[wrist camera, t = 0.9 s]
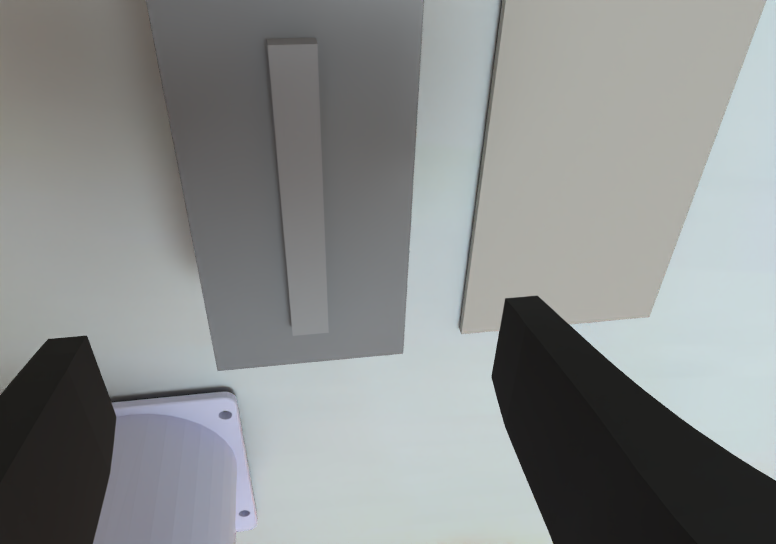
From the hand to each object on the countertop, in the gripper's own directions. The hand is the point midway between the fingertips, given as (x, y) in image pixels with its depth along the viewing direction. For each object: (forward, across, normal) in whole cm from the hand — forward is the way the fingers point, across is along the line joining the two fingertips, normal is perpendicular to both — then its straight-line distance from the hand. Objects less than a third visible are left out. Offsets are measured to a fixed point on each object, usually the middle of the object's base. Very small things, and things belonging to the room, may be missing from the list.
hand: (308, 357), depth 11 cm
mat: (+10, -10, +2) cm, 14 cm away
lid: (+7, 0, 0) cm, 7 cm away
